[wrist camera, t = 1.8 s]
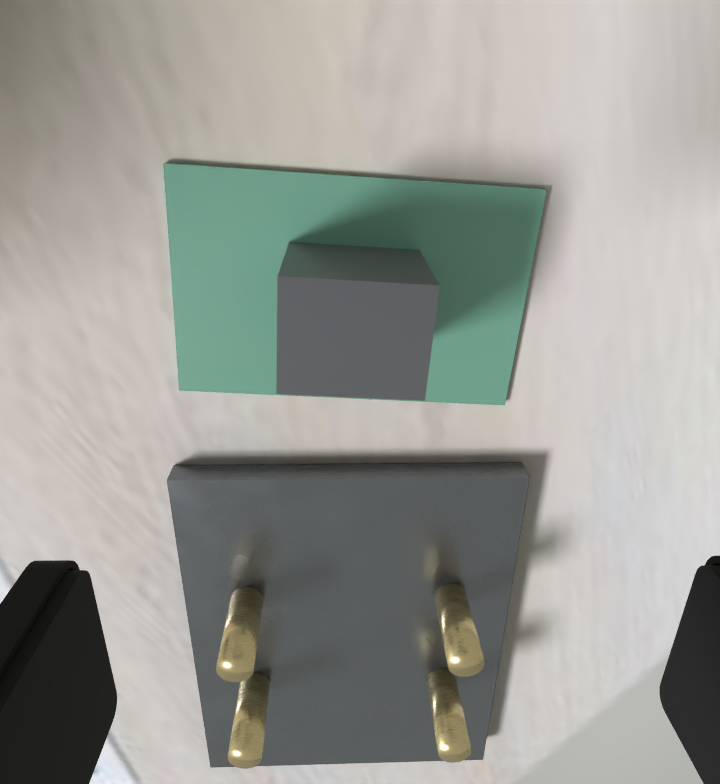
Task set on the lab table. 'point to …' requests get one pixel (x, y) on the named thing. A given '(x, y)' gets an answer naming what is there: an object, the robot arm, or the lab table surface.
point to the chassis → (347, 606)
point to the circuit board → (352, 212)
